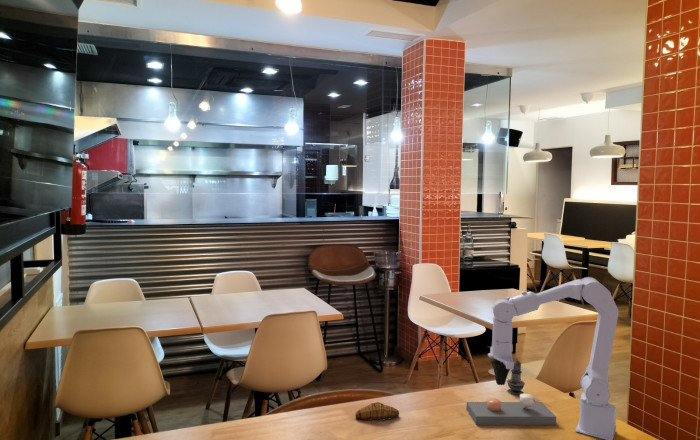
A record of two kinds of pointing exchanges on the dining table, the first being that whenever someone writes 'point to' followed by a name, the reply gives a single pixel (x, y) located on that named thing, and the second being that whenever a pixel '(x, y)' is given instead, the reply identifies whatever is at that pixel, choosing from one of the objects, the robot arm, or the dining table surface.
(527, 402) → the knob
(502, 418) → the control board
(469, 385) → the dining table surface
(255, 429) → the dining table surface
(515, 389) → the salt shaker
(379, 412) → the croissant
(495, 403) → the knob
